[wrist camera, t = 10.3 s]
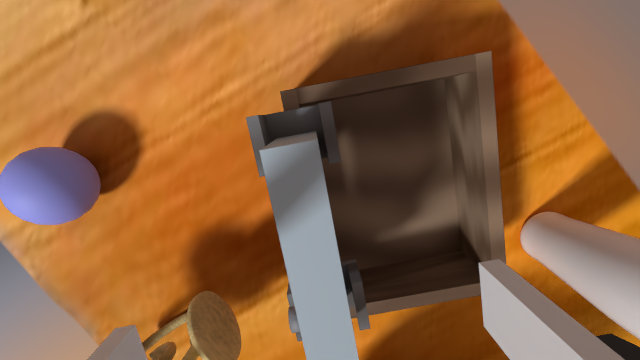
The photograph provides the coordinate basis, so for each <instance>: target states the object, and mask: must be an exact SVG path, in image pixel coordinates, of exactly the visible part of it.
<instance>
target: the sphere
mask: <svg viewBox="0 0 640 360" xmlns="http://www.w3.org/2000/svg"><path fill="white" fill-rule="evenodd" d="M100 188H101V184H100V177H99V174H98V172H97V170H96V168H95V167H94V166H93V165H92V163H91V162H90V161H89V160H88V159H86V158H85V157H83V156H82V155H80V154H79V153H77V152H74V151H71V150H68V149H65V148H60V147H40V148H36V149H32V150H29V151H26V152H23V153H21V154H19V155H18V156H17V157H15V158H14V159H13V160H11V161H10V162H9V163H8V164H7V165H6V166H5V168H4V169H3V171H2V173H1V174H0V198H1V200H2V202H3V204H4V206H5V207H6V208H7V209H8V210H9V211H10V212H11V213H13V214H14V215H16V216H18V217H19V218H21V219H22V220H25V221H28V222H32V223H35V224H41V225H57V224H62V223H66V222H69V221H72V220H75V219H77V218H79V217H81V216H82V215H83V214H85V213H86V212H87V211H89V210H90V209H91V208H92V207H93V205H94V204H95V202H96V200H97V199H98V197H99V193H100Z"/></svg>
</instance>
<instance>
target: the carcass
mask: <svg viewBox="0 0 640 360" xmlns="http://www.w3.org/2000/svg"><path fill="white" fill-rule="evenodd" d="M280 94H281V99H282V103H283V108H284V112H278V113H273V114H268V115H256V116H251V117H246V120H247V124H248V128H249V133H250V137H251V141H252V146H253V150H254V154H255V159H256V163H257V167H258V172H259V176H260V177H261V176H265V174H264V169H263V165H262V160H261V156H260V152H259V150H261V149H262V148H264V147H265V146H267V145H268V144H270V143H271V142H273V141H274V140H276V139H277V138H282V137H288V136H293V135H298V134H303V133H309V132H314V131H316V134H317V139H318V144H319V150H320V155H321V160H322V166H323V171H324V176H325V182H326V187H327V192H328V198H329V203H330V208H331V214H332V219H333V224H334V230H335V235H336V240H337V246H338V251H339V256H340V262H341V267H342V272H343V278H344V283H345V288H346V294H347V299H348V305H349V310H350V315H351V318H357V319H358V324H359V328H360V330H364V329H370V324H369V318H368V315H374V314H379V313H385V312H390V311H396V310H402V309H407V308H413V307H418V306H424V305H430V304H435V303H441V302H446V301H452V300H457V299H463V298H469V297H474V296H480V295H481V286H480V273H479V263H480V262H485V261H491V260H496V259H500V260H501V261H502V262H503V263H505V264H506V255H505V241H504V226H503V212H502V197H501V183H500V168H499V154H498V139H497V125H496V110H495V96H494V81H493V67H492V52H491V51H488V52H482V53H477V54H472V55H467V56H462V57H456V58H451V59H446V60H441V61H436V62H431V63H425V64H420V65H415V66H410V67H405V68H399V69H394V70H389V71H384V72H379V73H373V74H368V75H363V76H358V77H353V78H347V79H342V80H337V81H332V82H327V83H321V84H316V85H311V86H306V87H301V88H296V89H290V90H285V91H280ZM287 297H288V301H289V306H290V307H292V306H294V301H293V297H292V292H291V288H290V284H288V291H287ZM296 336H297V340H298V341H302V336H301V332H296Z"/></svg>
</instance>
